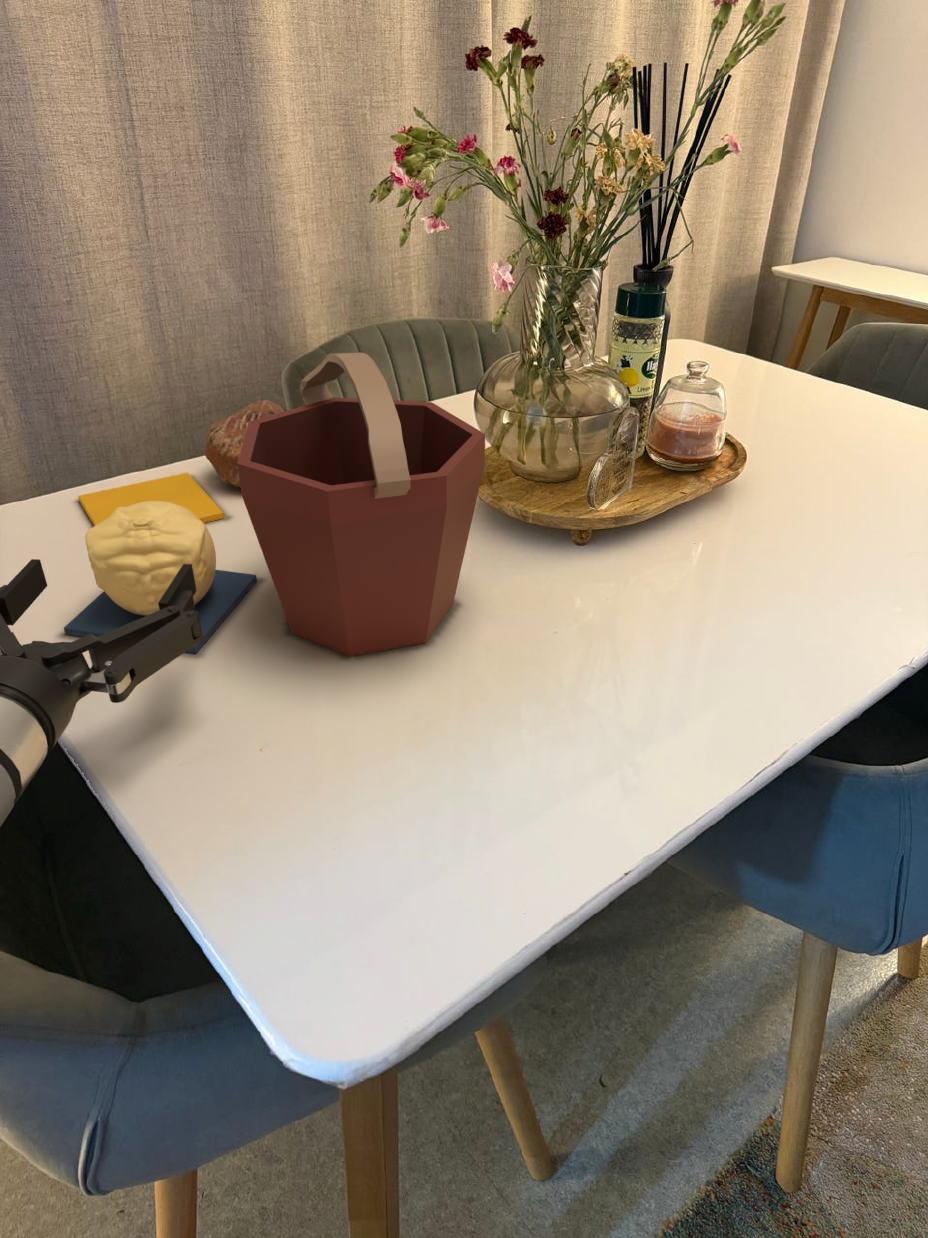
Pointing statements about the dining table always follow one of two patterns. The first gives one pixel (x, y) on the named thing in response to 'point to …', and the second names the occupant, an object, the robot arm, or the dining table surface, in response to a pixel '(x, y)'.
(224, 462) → the decorative rock
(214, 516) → the yellow mat
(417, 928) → the dining table surface
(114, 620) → the blue mat
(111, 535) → the sculpture
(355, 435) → the bucket
